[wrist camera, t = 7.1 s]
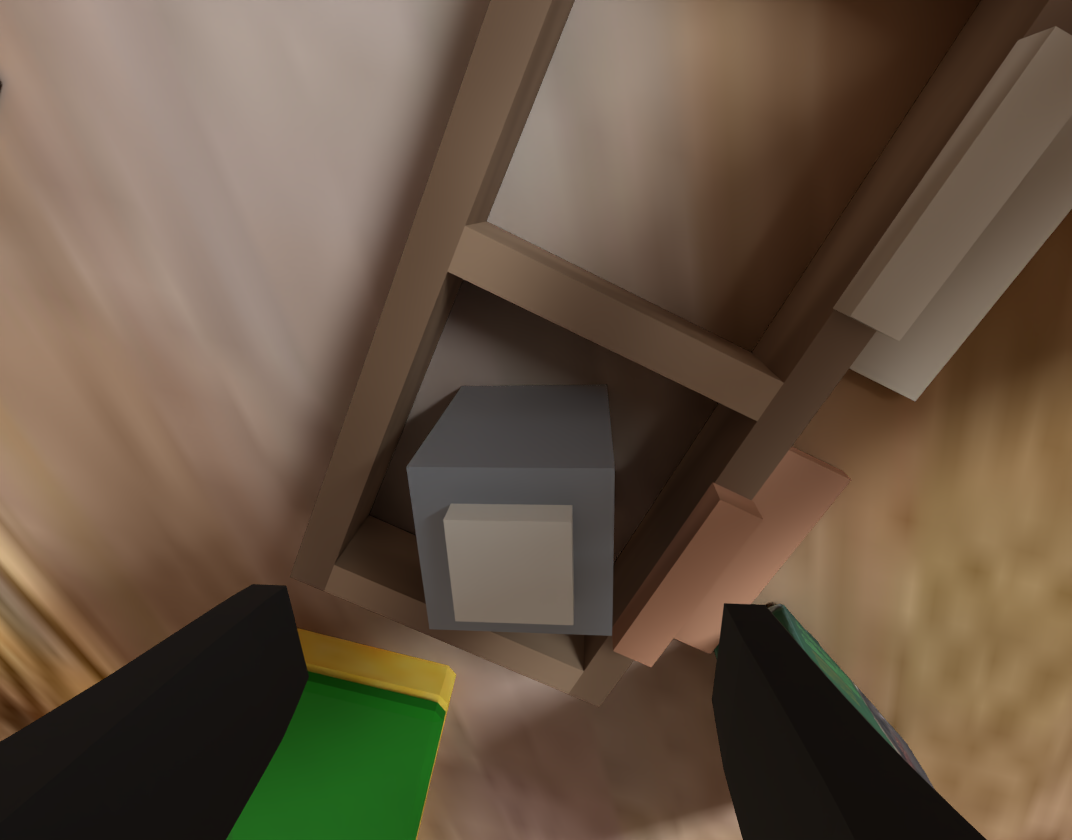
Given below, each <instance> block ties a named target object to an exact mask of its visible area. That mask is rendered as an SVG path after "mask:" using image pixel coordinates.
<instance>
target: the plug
mask: <svg viewBox="0 0 1072 840" xmlns="http://www.w3.org/2000/svg"><path fill="white" fill-rule="evenodd" d="M406 468H407V475H408V482H409V489H410V496H411V503H412V510H413V517H414V524H415V531H416V538H417V545H418V552H419V559H420V566H421V573H422V580H423V587H424V594H425V601H426V608H427V615H428V622H429V629H437V630H465V631H492V632H520V633H548V634H575V635H603V636H612V615H613V553H614V491H615V465H614V454H613V443H612V433H611V422H610V412H609V401H608V391H607V385H525V386H462V387H461V388H460V389H459V391H458V392H457V394H456V395H455V397H454V398H453V400H452V401H451V403H450V404H449V406H448V407H447V408H446V410H445V411H444V413H443V414H442V416H441V417H440V419H439V420H438V422H437V423H436V425H435V426H434V427H433V429H432V430H431V432H430V433H429V435H428V436H427V438H426V439H425V441H424V442H423V443H422V445H421V446H420V448H419V449H418V451H417V452H416V454H415V455H414V457H413V458H412V460H411V461H410V462H409V464H408V465H407V467H406Z"/></svg>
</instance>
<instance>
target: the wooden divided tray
mask: <svg viewBox="0 0 1072 840" xmlns="http://www.w3.org/2000/svg"><path fill="white" fill-rule="evenodd" d="M574 1H575V0H490V3H489V6H488V9H487V12H486V14H485V17H484V20H483V23H482V26H481V29H480V32H479V35H478V37H477V40H476V43H475V46H474V49H473V52H472V55H471V58H470V60H469V63H468V66H467V69H466V72H465V75H464V78H463V81H462V83H461V86H460V89H459V92H458V95H457V98H456V101H455V104H454V106H453V109H452V112H451V115H450V118H449V121H448V124H447V127H446V129H445V132H444V135H443V138H442V141H441V144H440V147H439V150H438V152H437V155H436V158H435V161H434V164H433V167H432V170H431V173H430V175H429V178H428V181H427V184H426V187H425V190H424V193H423V196H422V198H421V201H420V204H419V207H418V210H417V213H416V216H415V219H414V221H413V224H412V227H411V230H410V233H409V236H408V239H407V242H406V244H405V247H404V250H403V253H402V256H401V259H400V262H399V265H398V267H397V270H396V273H395V276H394V279H393V282H392V285H391V288H390V290H389V293H388V296H387V299H386V302H385V305H384V308H383V311H382V313H381V316H380V319H379V322H378V325H377V328H376V331H375V334H374V336H373V339H372V342H371V345H370V348H369V351H368V354H367V357H366V359H365V362H364V365H363V368H362V371H361V374H360V377H359V380H358V382H357V385H356V388H355V391H354V394H353V397H352V400H351V403H350V405H349V408H348V411H347V414H346V417H345V420H344V423H343V426H342V428H341V431H340V434H339V437H338V440H337V443H336V446H335V449H334V451H333V454H332V457H331V460H330V463H329V466H328V469H327V472H326V474H325V477H324V480H323V483H322V486H321V489H320V492H319V495H318V497H317V500H316V503H315V506H314V509H313V512H312V515H311V518H310V520H309V523H308V526H307V529H306V532H305V535H304V538H303V541H302V543H301V546H300V549H299V552H298V555H297V558H296V561H295V564H294V566H293V569H292V572H291V575H290V577H291V578H294V579H296V580H299V581H301V582H303V583H306V584H308V585H310V586H313V587H315V588H317V589H320V590H322V591H325V592H327V593H329V594H332V595H334V596H336V597H339V598H341V599H344V600H346V601H348V602H351V603H353V604H355V605H358V606H360V607H363V608H365V609H367V610H370V611H372V612H374V613H377V614H379V615H382V616H384V617H386V618H389V619H391V620H393V621H396V622H398V623H401V624H403V625H405V626H408V627H410V628H412V629H415V630H417V631H419V632H422V633H424V634H427V635H429V636H431V637H434V638H436V639H438V640H441V641H443V642H446V643H448V644H450V645H453V646H455V647H457V648H460V649H462V650H465V651H467V652H469V653H472V654H474V655H476V656H479V657H481V658H484V659H486V660H488V661H491V662H493V663H495V664H498V665H500V666H503V667H505V668H507V669H510V670H512V671H514V672H517V673H519V674H521V675H524V676H526V677H529V678H531V679H533V680H536V681H538V682H540V683H543V684H545V685H548V686H550V687H552V688H555V689H557V690H559V691H562V692H564V693H567V694H569V695H571V696H574V697H576V698H578V699H581V700H583V701H586V702H588V703H590V704H593V705H595V706H597V707H600V706H601V704H602V703H603V702H604V700H605V699H606V697H607V696H608V695H609V693H610V692H611V691H612V689H613V688H614V687H615V685H616V684H617V683H618V681H619V680H620V678H621V677H622V676H623V674H624V673H625V672H626V670H627V669H628V668H629V666H630V665H631V664H632V662H633V661H634V660H635V661H637V662H640V663H642V664H644V665H647V666H649V667H652V666H653V665H654V663H655V662H656V661H657V659H658V658H659V657H660V655H661V654H662V653H663V651H664V650H665V649H666V647H667V646H668V645H669V644H670V642H671V641H672V640H673V638H674V639H677V640H679V641H681V642H683V643H686V644H688V645H690V646H693V647H695V648H697V649H699V650H702V651H704V652H706V653H708V654H711V653H712V651H713V650H714V649H715V648H716V646H717V645H718V644H719V639H720V631H721V623H722V615H723V607H724V603H730V604H751V603H752V602H753V601H754V600H755V598H756V597H757V596H758V595H759V593H760V592H761V591H762V590H763V589H764V587H765V586H766V585H767V584H768V582H769V581H770V580H771V579H772V577H773V576H774V575H775V574H776V573H777V571H778V570H779V569H780V568H781V566H782V565H783V564H784V563H785V561H786V560H787V559H788V558H789V556H790V555H791V554H792V553H793V552H794V550H795V549H796V548H797V547H798V545H799V544H800V543H801V542H802V540H803V539H804V538H805V537H806V536H807V534H808V533H809V532H810V531H811V529H812V528H813V527H814V526H815V524H816V523H817V522H818V521H819V520H820V518H821V517H822V516H823V515H824V513H825V512H826V511H827V510H828V508H829V507H830V506H831V505H832V504H833V502H834V501H835V500H836V499H837V497H838V496H839V495H840V494H841V492H842V491H843V490H844V489H845V488H846V486H847V485H848V484H849V483H850V481H851V479H850V478H849V477H848V476H847V475H846V474H845V473H844V472H843V471H841V470H839V469H837V468H835V467H833V466H831V465H829V464H827V463H825V462H823V461H821V460H819V459H817V458H815V457H812V456H810V455H808V454H806V453H804V452H802V451H800V450H798V449H796V448H794V447H792V445H793V444H794V442H795V441H796V440H797V438H798V437H799V436H800V434H801V433H802V432H803V430H804V429H805V428H806V426H807V425H808V423H809V422H810V421H811V419H812V418H813V417H814V415H815V414H816V413H817V411H818V410H819V409H820V407H821V406H822V404H823V403H824V402H825V400H826V399H827V398H828V396H829V395H830V394H831V392H832V391H833V390H834V388H835V387H836V385H837V384H838V383H839V381H840V380H841V379H842V377H843V376H844V375H845V373H846V372H847V371H848V369H851V370H853V371H855V372H857V373H859V374H861V375H863V376H865V377H867V378H869V379H871V380H873V381H875V382H877V383H879V384H881V385H883V386H885V387H887V388H889V389H891V390H893V391H895V392H897V393H899V394H901V395H903V396H905V397H907V398H909V399H911V400H913V401H916V400H917V399H918V398H919V396H920V395H921V394H922V393H923V391H924V390H925V389H926V388H927V386H928V385H929V384H930V383H931V382H932V380H933V379H934V378H935V377H936V375H937V374H938V373H939V372H940V370H941V369H942V368H943V367H944V366H945V364H946V363H947V362H948V361H949V359H950V358H951V357H952V356H953V354H954V353H955V352H956V351H957V350H958V348H959V347H960V346H961V345H962V343H963V342H964V341H965V340H966V338H967V337H968V336H969V335H970V334H971V332H972V331H973V330H974V329H975V327H976V326H977V325H978V324H979V322H980V321H981V320H982V319H983V318H984V316H985V315H986V314H987V313H988V311H989V310H990V309H991V308H992V306H993V305H994V304H995V303H996V301H997V300H998V299H999V298H1000V297H1001V295H1002V294H1003V293H1004V292H1005V290H1006V289H1007V288H1008V287H1009V285H1010V284H1011V283H1012V282H1013V281H1014V279H1015V278H1016V277H1017V276H1018V274H1019V273H1020V272H1021V271H1022V269H1023V268H1024V267H1025V266H1026V265H1027V263H1028V262H1029V261H1030V260H1031V258H1032V257H1033V256H1034V255H1035V253H1036V252H1037V251H1038V250H1039V249H1040V247H1041V246H1042V245H1043V244H1044V242H1045V241H1046V240H1047V239H1048V237H1049V236H1050V235H1051V234H1052V233H1053V231H1054V230H1055V229H1056V228H1057V226H1058V225H1059V224H1060V223H1061V221H1062V220H1063V219H1064V218H1065V216H1066V215H1067V214H1068V213H1069V212H1070V210H1071V209H1072V0H981V1H980V3H979V4H978V6H977V7H976V9H975V11H974V12H973V14H972V15H971V17H970V18H969V20H968V21H967V23H966V24H965V26H964V27H963V29H962V31H961V32H960V34H959V35H958V37H957V38H956V40H955V41H954V43H953V44H952V46H951V47H950V49H949V50H948V52H947V54H946V55H945V57H944V58H943V60H942V61H941V63H940V64H939V66H938V67H937V69H936V70H935V72H934V74H933V75H932V77H931V78H930V80H929V81H928V83H927V84H926V86H925V87H924V89H923V90H922V92H921V93H920V95H919V97H918V98H917V100H916V101H915V103H914V104H913V106H912V107H911V109H910V110H909V112H908V113H907V115H906V117H905V118H904V120H903V121H902V123H901V124H900V126H899V127H898V129H897V130H896V132H895V133H894V135H893V136H892V138H891V140H890V141H889V143H888V144H887V146H886V147H885V149H884V150H883V152H882V153H881V155H880V156H879V158H878V160H877V161H876V163H875V164H874V166H873V167H872V169H871V170H870V172H869V173H868V175H867V176H866V178H865V179H864V181H863V183H862V184H861V186H860V187H859V189H858V190H857V192H856V193H855V195H854V196H853V198H852V199H851V201H850V203H849V204H848V206H847V207H846V209H845V210H844V212H843V213H842V215H841V216H840V218H839V219H838V221H837V222H836V224H835V226H834V227H833V229H832V230H831V232H830V233H829V235H828V236H827V238H826V239H825V241H824V242H823V244H822V246H821V247H820V249H819V250H818V252H817V253H816V255H815V256H814V258H813V259H812V261H811V262H810V264H809V265H808V267H807V269H806V270H805V272H804V273H803V275H802V276H801V278H800V279H799V281H798V282H797V284H796V285H795V287H794V289H793V290H792V292H791V293H790V295H789V296H788V298H787V299H786V301H785V302H784V304H783V305H782V307H781V308H780V310H779V312H778V313H777V315H776V316H775V318H774V319H773V321H772V322H771V324H770V325H769V327H768V328H767V330H766V332H765V333H764V335H763V336H762V338H761V339H760V341H759V342H758V344H757V345H756V347H755V348H754V350H753V351H752V353H751V352H749V351H747V350H745V349H743V348H741V347H739V346H737V345H735V344H733V343H731V342H729V341H727V340H725V339H723V338H721V337H719V336H717V335H715V334H713V333H711V332H709V331H707V330H705V329H703V328H701V327H699V326H697V325H695V324H693V323H691V322H689V321H687V320H685V319H683V318H681V317H679V316H677V315H675V314H673V313H670V312H668V311H666V310H664V309H662V308H660V307H658V306H656V305H654V304H652V303H650V302H648V301H646V300H644V299H642V298H640V297H638V296H636V295H634V294H632V293H630V292H628V291H626V290H624V289H622V288H620V287H618V286H616V285H614V284H612V283H610V282H608V281H606V280H604V279H602V278H600V277H598V276H596V275H594V274H592V273H590V272H588V271H586V270H584V269H582V268H580V267H578V266H576V265H574V264H572V263H570V262H568V261H566V260H563V259H561V258H559V257H557V256H555V255H553V254H551V253H549V252H547V251H545V250H543V249H541V248H539V247H537V246H535V245H533V244H531V243H529V242H527V241H525V240H523V239H521V238H519V237H517V236H515V235H513V234H511V233H509V232H507V231H505V230H503V229H501V228H499V227H497V226H495V225H493V224H491V223H489V222H487V218H488V216H489V213H490V211H491V208H492V206H493V203H494V201H495V198H496V196H497V193H498V191H499V188H500V186H501V183H502V181H503V178H504V176H505V173H506V171H507V168H508V166H509V163H510V161H511V158H512V156H513V153H514V151H515V148H516V146H517V143H518V141H519V138H520V136H521V133H522V131H523V128H524V126H525V123H526V121H527V118H528V116H529V113H530V111H531V108H532V106H533V103H534V101H535V98H536V96H537V93H538V91H539V88H540V86H541V83H542V81H543V78H544V76H545V73H546V71H547V68H548V66H549V63H550V61H551V58H552V56H553V53H554V51H555V48H556V46H557V43H558V41H559V38H560V36H561V33H562V31H563V28H564V26H565V23H566V21H567V18H568V16H569V13H570V11H571V8H572V6H573V3H574ZM463 279H464V280H466V281H468V282H470V283H472V284H474V285H476V286H479V287H481V288H483V289H485V290H487V291H489V292H491V293H493V294H495V295H497V296H499V297H501V298H503V299H505V300H507V301H510V302H512V303H514V304H516V305H518V306H520V307H522V308H524V309H526V310H528V311H530V312H532V313H534V314H536V315H539V316H541V317H543V318H545V319H547V320H549V321H551V322H553V323H555V324H557V325H559V326H561V327H563V328H565V329H567V330H570V331H572V332H574V333H576V334H578V335H580V336H582V337H584V338H586V339H588V340H590V341H592V342H594V343H596V344H598V345H601V346H603V347H605V348H607V349H609V350H611V351H613V352H615V353H617V354H619V355H621V356H623V357H625V358H627V359H629V360H632V361H634V362H636V363H638V364H640V365H642V366H644V367H646V368H648V369H650V370H652V371H654V372H656V373H658V374H660V375H663V376H665V377H667V378H669V379H671V380H673V381H675V382H677V383H679V384H681V385H683V386H685V387H687V388H689V389H691V390H694V391H696V392H698V393H700V394H702V395H704V396H706V397H708V398H710V399H712V400H714V401H716V402H718V403H719V404H718V405H717V407H716V408H715V410H714V411H713V413H712V414H711V416H710V418H709V419H708V421H707V422H706V424H705V425H704V427H703V428H702V430H701V431H700V433H699V434H698V436H697V437H696V439H695V441H694V442H693V444H692V445H691V447H690V448H689V450H688V451H687V453H686V454H685V456H684V457H683V459H682V461H681V462H680V464H679V465H678V467H677V468H676V470H675V471H674V473H673V474H672V476H671V477H670V479H669V480H668V482H667V484H666V485H665V487H664V488H663V490H662V491H661V493H660V494H659V496H658V497H657V499H656V500H655V502H654V504H653V505H652V507H651V508H650V510H649V511H648V513H647V514H646V516H645V517H644V519H643V520H642V522H641V523H640V525H639V527H638V528H637V530H636V531H635V533H634V534H633V536H632V537H631V539H630V540H629V542H628V543H627V545H626V547H625V548H624V550H623V551H622V553H621V554H620V556H619V557H618V559H617V560H616V562H615V563H614V565H613V615H612V636H603V635H575V634H548V633H520V632H492V631H465V630H437V629H429V622H428V615H427V608H426V601H425V594H424V587H423V580H422V573H421V566H420V559H419V552H418V545H417V538H416V536H415V535H413V534H411V533H408V532H406V531H404V530H402V529H399V528H397V527H395V526H392V525H390V524H388V523H386V522H383V521H381V520H379V519H376V518H374V517H372V516H370V515H369V513H370V511H371V508H372V506H373V503H374V501H375V498H376V496H377V493H378V491H379V488H380V486H381V483H382V481H383V478H384V476H385V473H386V471H387V468H388V466H389V463H390V461H391V458H392V456H393V453H394V451H395V448H396V446H397V443H398V441H399V438H400V436H401V433H402V431H403V428H404V426H405V423H406V421H407V418H408V416H409V413H410V411H411V408H412V406H413V403H414V401H415V398H416V396H417V393H418V391H419V388H420V386H421V383H422V381H423V378H424V376H425V373H426V371H427V368H428V366H429V363H430V361H431V358H432V356H433V353H434V351H435V348H436V346H437V343H438V341H439V338H440V336H441V333H442V331H443V328H444V326H445V323H446V321H447V318H448V316H449V313H450V311H451V308H452V306H453V303H454V301H455V298H456V296H457V293H458V291H459V288H460V286H461V283H462V281H463Z"/></svg>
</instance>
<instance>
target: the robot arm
mask: <svg viewBox="0 0 1072 840" xmlns="http://www.w3.org/2000/svg"><path fill="white" fill-rule="evenodd" d="M308 678H309V674H308V670H307V666H306V662H305V658H304V654H303V650H302V646H301V642H300V638H299V634H298V630H297V627H296V623H295V619H294V615H293V611H292V607H291V603H290V599H289V595H288V591H287V587H286V586H281V585H256V584H252V585H251V586H249V587H247V588H245V589H244V590H242V591H240V592H238V593H237V594H235V595H233V596H232V597H230V598H229V599H227V600H225V601H224V602H222V603H221V604H219V605H217V606H216V607H214V608H213V609H211V610H210V611H208V612H206V613H205V614H203V615H202V616H200V617H199V618H197V619H196V620H194V621H193V622H191V623H190V624H188V625H187V626H185V627H183V628H182V629H180V630H179V631H177V632H176V633H174V634H173V635H171V636H170V637H168V638H167V639H165V640H164V641H162V642H160V643H159V644H157V645H156V646H154V647H153V648H151V649H150V650H148V651H147V652H145V653H143V654H142V655H140V656H139V657H137V658H136V659H134V660H133V661H131V662H130V663H128V664H127V665H125V666H123V667H122V668H120V669H119V670H117V671H116V672H114V673H113V674H111V675H109V676H108V677H106V678H105V679H103V680H101V681H100V682H98V683H97V684H95V685H93V686H92V687H90V688H88V689H87V690H85V691H83V692H82V693H80V694H79V695H77V696H75V697H74V698H72V699H70V700H69V701H67V702H65V703H64V704H62V705H61V706H59V707H57V708H56V709H54V710H52V711H51V712H49V713H47V714H46V715H44V716H43V717H41V718H39V719H38V720H36V721H34V722H33V723H31V724H30V725H28V726H26V727H25V728H23V729H21V730H20V731H18V732H16V733H15V734H13V735H11V736H9V737H8V738H6V739H4V740H2V741H1V742H0V840H226V839H227V837H228V835H229V834H230V832H231V830H232V828H233V827H234V825H235V823H236V821H237V820H238V818H239V816H240V814H241V813H242V811H243V809H244V807H245V806H246V804H247V802H248V800H249V799H250V797H251V795H252V793H253V792H254V790H255V788H256V786H257V784H258V783H259V781H260V779H261V777H262V776H263V774H264V772H265V770H266V768H267V767H268V765H269V763H270V761H271V759H272V758H273V756H274V754H275V752H276V750H277V749H278V747H279V745H280V743H281V741H282V739H283V737H284V735H285V733H286V730H287V728H288V726H289V724H290V721H291V719H292V717H293V715H294V712H295V710H296V708H297V705H298V703H299V700H300V698H301V695H302V693H303V690H304V688H305V685H306V683H307V681H308ZM712 703H713V709H714V715H715V721H716V728H717V734H718V740H719V745H720V751H721V757H722V762H723V768H724V772H725V776H726V780H727V783H728V787H729V791H730V794H731V798H732V802H733V805H734V809H735V813H736V816H737V820H738V824H739V827H740V831H741V834H742V838H743V840H986V839H985V838H984V837H983V836H982V835H981V834H980V833H979V832H978V831H977V830H976V829H975V828H974V827H973V826H972V825H971V824H970V823H968V822H967V821H966V820H965V819H964V818H963V817H962V816H961V815H960V814H959V813H958V812H957V811H956V810H955V809H954V808H953V807H952V806H951V805H950V804H949V803H948V802H947V801H946V800H945V799H944V798H943V797H942V796H941V795H940V794H939V793H938V792H937V791H936V790H935V789H934V788H933V787H932V786H931V785H930V784H929V783H928V782H927V781H925V780H924V779H923V778H922V777H921V776H920V775H919V774H918V773H917V772H916V771H915V770H914V769H913V768H912V767H911V766H910V765H909V764H908V763H907V761H906V760H905V759H904V758H903V757H902V756H901V755H900V754H899V753H898V752H897V751H896V750H895V749H894V748H893V747H892V746H891V745H890V744H889V743H888V742H887V741H886V740H885V739H884V738H883V737H882V736H881V734H880V733H879V732H878V731H877V730H876V729H875V728H874V727H873V726H872V725H871V724H870V723H869V722H868V721H867V719H866V718H865V717H864V716H863V715H862V714H861V713H860V712H859V711H858V710H857V709H856V708H855V707H854V706H853V704H852V703H851V702H850V701H849V700H848V699H847V698H846V697H845V696H844V695H843V694H842V692H841V691H840V690H839V689H838V688H837V687H836V686H835V685H834V684H833V682H832V681H831V680H830V679H829V678H828V677H827V676H826V675H825V673H824V672H823V671H822V670H821V669H820V668H819V667H818V665H817V664H816V663H815V662H814V661H813V660H812V659H811V658H810V656H809V655H808V654H807V653H806V652H805V651H804V649H803V648H802V647H801V646H800V645H799V644H798V642H797V641H796V640H795V639H794V638H793V637H792V635H791V634H790V633H789V632H788V631H787V630H786V628H785V627H784V626H783V625H782V624H781V623H780V621H779V620H778V619H777V618H776V617H775V616H774V615H773V613H772V612H771V611H770V610H769V609H768V608H767V607H766V606H765V605H755V604H730V603H724V607H723V615H722V623H721V631H720V639H719V647H718V655H717V663H716V671H715V679H714V687H713V695H712Z"/></svg>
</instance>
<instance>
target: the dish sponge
mask: <svg viewBox="0 0 1072 840" xmlns="http://www.w3.org/2000/svg"><path fill="white" fill-rule="evenodd" d="M297 630H298V634H299V638H300V642H301V646H302V650H303V654H304V658H305V662H306V666H307V670H308V674H309V678H308V681H307V683H306V685H305V688H304V690H303V693H302V695H301V698H300V700H299V703H298V705H297V708H296V710H295V712H294V715H293V717H292V719H291V721H290V724H289V726H288V728H287V730H286V733H285V735H284V737H283V739H282V741H281V743H280V745H279V747H278V749H277V750H276V752H275V754H274V756H273V758H272V759H271V761H270V763H269V765H268V767H267V768H266V770H265V772H264V774H263V776H262V777H261V779H260V781H259V783H258V784H257V786H256V788H255V790H254V792H253V793H252V795H251V797H250V799H249V800H248V802H247V804H246V806H245V807H244V809H243V811H242V813H241V814H240V816H239V818H238V820H237V821H236V823H235V825H234V827H233V828H232V830H231V832H230V834H229V835H228V837H227V839H226V840H417V837H418V833H419V828H420V824H421V820H422V816H423V812H424V807H425V803H426V799H427V795H428V791H429V786H430V782H431V778H432V774H433V770H434V765H435V761H436V757H437V753H438V749H439V744H440V740H441V736H442V732H443V728H444V723H445V719H446V715H447V711H448V707H449V702H450V698H451V694H452V690H453V686H454V681H455V677H456V674H455V673H454V672H453V671H452V670H451V668H450V667H449V666H448V665H444V664H440V663H436V662H432V661H428V660H424V659H419V658H415V657H411V656H407V655H403V654H399V653H395V652H391V651H387V650H383V649H379V648H375V647H371V646H367V645H363V644H359V643H355V642H351V641H347V640H343V639H339V638H335V637H331V636H327V635H323V634H319V633H315V632H311V631H307V630H303V629H299V628H297Z"/></svg>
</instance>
